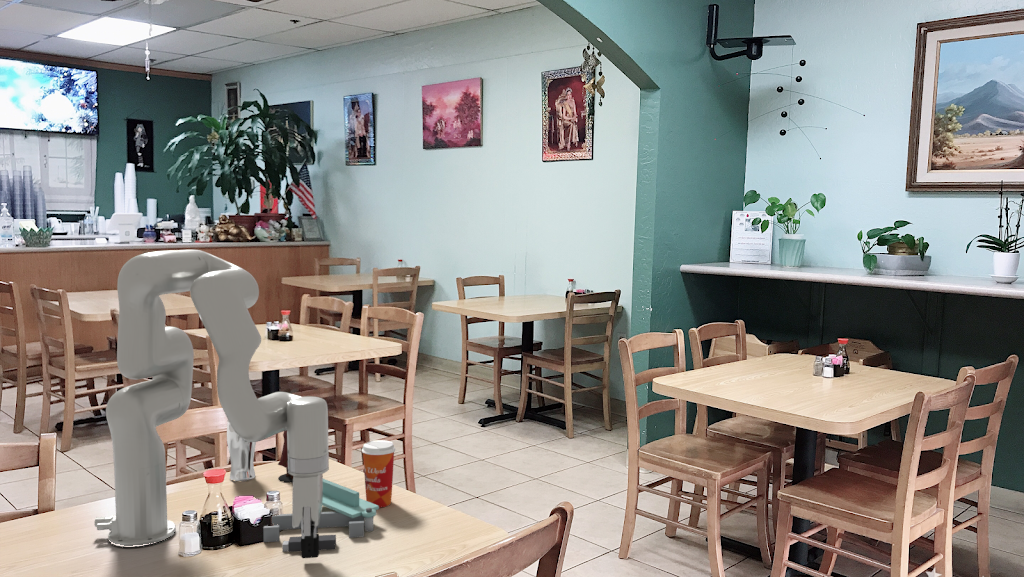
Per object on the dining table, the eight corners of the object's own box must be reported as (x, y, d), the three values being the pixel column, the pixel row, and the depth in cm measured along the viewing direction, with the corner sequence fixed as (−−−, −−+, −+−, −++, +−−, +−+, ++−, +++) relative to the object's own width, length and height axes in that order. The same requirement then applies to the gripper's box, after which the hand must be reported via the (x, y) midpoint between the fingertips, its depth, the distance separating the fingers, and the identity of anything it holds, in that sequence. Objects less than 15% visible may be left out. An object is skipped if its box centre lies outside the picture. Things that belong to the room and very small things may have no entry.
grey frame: (263, 542, 159) (263, 526, 159) (268, 528, 166) (268, 513, 166) (373, 536, 163) (373, 521, 163) (373, 523, 170) (373, 508, 170)
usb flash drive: (282, 552, 155) (282, 542, 155) (283, 546, 158) (283, 537, 157) (335, 549, 157) (335, 539, 156) (335, 544, 159) (335, 534, 159)
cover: (297, 494, 177) (296, 478, 177) (323, 486, 182) (322, 471, 182) (360, 521, 162) (360, 504, 162) (386, 511, 168) (386, 495, 167)
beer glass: (222, 478, 197) (220, 420, 195) (245, 471, 202) (244, 414, 201) (239, 484, 193) (238, 424, 191) (262, 476, 198) (261, 418, 197)
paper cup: (355, 505, 180) (354, 445, 178) (375, 495, 187) (375, 437, 185) (382, 512, 176) (382, 451, 175) (402, 501, 183) (402, 442, 182)
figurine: (310, 478, 198) (309, 420, 196) (283, 485, 193) (282, 425, 191) (297, 471, 202) (296, 414, 201) (271, 478, 197) (270, 419, 196)
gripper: (292, 451, 156) (294, 541, 157) (282, 476, 141) (285, 575, 143) (331, 450, 157) (332, 538, 159) (325, 474, 142) (327, 572, 144)
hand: (310, 555), depth 151 cm, fingers closed
